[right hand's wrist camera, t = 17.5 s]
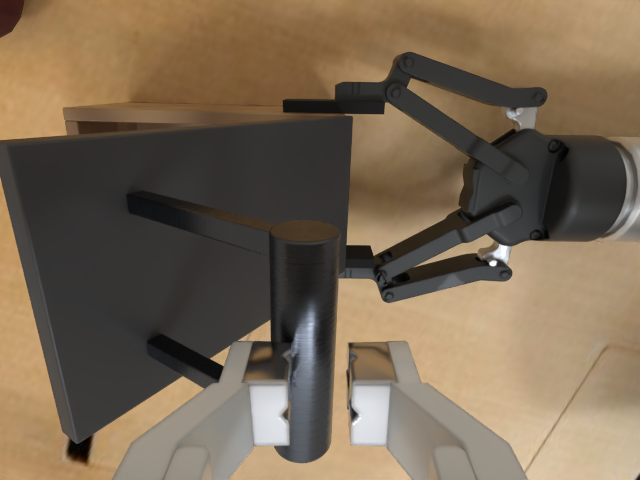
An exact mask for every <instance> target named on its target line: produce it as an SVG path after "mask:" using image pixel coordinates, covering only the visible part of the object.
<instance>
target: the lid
mask: <svg viewBox="0 0 640 480" xmlns="http://www.w3.org/2000/svg"><path fill="white" fill-rule="evenodd" d="M352 123H353V117H352V116H342V115H337V116H323V117H310V118H296V119H283V120H269V121H256V122H242V123H229V124H215V125H202V126H188V127H175V128H161V129H148V130H134V131H121V132H107V133H94V134H80V135H67V136H53V137H40V138H26V139H12V140H0V178H1V182H2V186H3V190H4V194H5V198H6V202H7V206H8V210H9V215H10V219H11V223H12V227H13V231H14V235H15V239H16V243H17V247H18V251H19V255H20V260H21V264H22V268H23V272H24V276H25V280H26V284H27V288H28V292H29V296H30V300H31V305H32V309H33V313H34V317H35V321H36V325H37V329H38V333H39V337H40V341H41V345H42V350H43V354H44V358H45V362H46V366H47V370H48V374H49V378H50V382H51V386H52V390H53V395H54V399H55V403H56V407H57V411H58V415H59V419H60V423H61V427H62V431H63V432H64V433H65V434H66V435H67V436H68V437H69V438H70V439H71V440H73V441H74V442H75V443H76V444H78V443H80V442H81V441H83V440H84V439H86V438H88V437H89V436H91V435H92V434H94V433H95V432H97V431H98V430H100V429H102V428H103V427H105V426H106V425H108V424H109V423H111V422H112V421H114V420H115V419H117V418H119V417H120V416H122V415H123V414H125V413H126V412H128V411H129V410H131V409H132V408H134V407H136V406H137V405H139V404H140V403H142V402H143V401H145V400H146V399H148V398H150V397H151V396H153V395H154V394H156V393H157V392H159V391H160V390H162V389H163V388H165V387H167V386H168V385H170V384H171V383H173V382H174V381H176V380H177V379H179V378H181V377H182V376H184V377H186V378H187V379H189V380H191V381H192V382H194V383H196V384H198V385H199V386H201V387H203V388H204V389H205V388H206V387H208V386H209V385H211V384H212V383H219V380H220V377H221V374H222V371H223V368H224V366H222V365H220V364H218V363H216V362H214V361H213V360H211V359H210V358H212V357H213V356H215V355H216V354H218V353H219V352H221V351H222V350H224V349H225V348H227V347H229V346H230V345H231V344H232V343H233V342H234V341H238V340H239V339H241V338H242V337H244V336H246V335H247V334H249V333H250V332H252V331H253V330H255V329H256V328H258V327H260V326H261V325H263V324H264V323H266V322H267V321H269V320H270V319H271V342H292V344H293V365H292V371H293V373H294V395H293V409H292V410H291V434H290V445H282V446H274V448H275V449H276V451H277V452H278V454H279V455H280V456H282V457H283V458H284V459H286V460H288V461H291V462H295V463H308V462H312V461H315V460H317V459H319V458H320V457H322V456H323V455H324V454H325V453H326V452H327V450H328V449H329V447H330V444H331V433H332V411H333V389H334V367H335V344H336V322H337V300H338V278H339V275H340V274H342V273H343V272H345V261H346V242H347V222H348V202H349V182H350V163H351V143H352Z"/></svg>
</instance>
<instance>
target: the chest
mask: <svg viewBox="0 0 640 480" xmlns="http://www.w3.org/2000/svg"><path fill="white" fill-rule="evenodd" d="M63 113H64V119H65V120H66V121H65V124H66V130H67V135H80V134H94V133H107V132H121V131H134V130H148V129H161V128H175V127H188V126H202V125H215V124H229V123H242V122H256V121H269V120H283V119H296V118H310V117H323V116H337V115H342V116H345V115H344V114H338V113H297V112H283V106H254V105H216V104H178V103H140V102H126V103H114V104H102V105H90V106H78V107H66V108H63Z"/></svg>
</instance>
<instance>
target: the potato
mask: <svg viewBox="0 0 640 480" xmlns="http://www.w3.org/2000/svg"><path fill="white" fill-rule="evenodd" d="M23 4H24V0H0V38H1V37H3V36H4V35H6V34H8V33H10V32H12V30H13V28H14V27H15V25H16V24H17V22H18V21H19V19H20V18H21V14H22V9H23Z"/></svg>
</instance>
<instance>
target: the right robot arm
mask: <svg viewBox="0 0 640 480" xmlns="http://www.w3.org/2000/svg"><path fill="white" fill-rule="evenodd" d="M347 364H348V369H347V371H346V396H347V409H348V410H349V433H350V444H351V445H357V446H387V449H388V450H389V452H390V453H391V454H392V455H393V457H394V458H395V459H396V460H397V462H398V463H399V464H400V465H401V467H402V468H403V469H404V470H405V472H406V473H407V474H408V475H409V476H410V478H411V479H412V480H528V478H527V477H526V475H525V473H524V471H523V469H522V467H521V465H520V463H519V461H518V459H517V457H516V455H515V453H514V451H513V450H512V448H511V446H510V444H509V443H508V442H506V441H505V440H504V439H502V438H501V437H500V436H498V435H497V434H496V433H494V432H493V431H492V430H490V429H489V428H488V427H486V426H485V425H483V424H482V423H481V422H479V421H478V420H477V419H475V418H474V417H473V416H471V415H470V414H469V413H467V412H466V411H465V410H463V409H462V408H461V407H459V406H458V405H456V404H455V403H454V402H452V401H451V400H450V399H448V398H447V397H446V396H444V395H443V394H442V393H440V392H439V391H438V390H436V389H435V388H434V387H432V386H431V385H430V384H428V383H421V380H420V377H419V374H418V371H417V368H416V365H415V362H414V359H413V356H412V353H411V350H410V347H409V345H408V342H406V341H387V342H348V343H347ZM292 365H293V344H292V342H269V341H254V342H253V341H234V342H233V343H232V344H231V347H230V350H229V353H228V356H227V359H226V362H225V365H224V368H223V371H222V374H221V377H220V380H219V383H212V384H211V385H209V386H208V387H206V388H205V389H204V390H202V391H201V392H200V393H198V394H197V395H196V396H194V397H193V398H192V399H190V400H189V401H188V402H186V403H185V404H183V405H182V406H181V407H179V408H178V409H177V410H175V411H174V412H173V413H171V414H170V415H169V416H167V417H166V418H164V419H163V420H162V421H160V422H159V423H158V424H156V425H155V426H154V427H152V428H151V429H150V430H148V431H147V432H145V433H144V434H143V435H141V436H140V437H139V438H137V439H136V440H135V441H133V442H132V443H131V444H130V446H129V448H128V450H127V452H126V454H125V456H124V458H123V460H122V461H121V463H120V465H119V467H118V469H117V471H116V473H115V475H114V477H113V479H112V480H228V479H229V478H230V477H231V476H232V474H233V473H234V472H235V471H236V469H237V468H238V467H239V466H240V464H241V463H242V462H243V461H244V460H245V458H246V457H247V456H248V455H249V453H250V452H251V451H252V450H253V446H282V445H290V434H291V410H292V409H293V395H294V373H293V371H292Z"/></svg>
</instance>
